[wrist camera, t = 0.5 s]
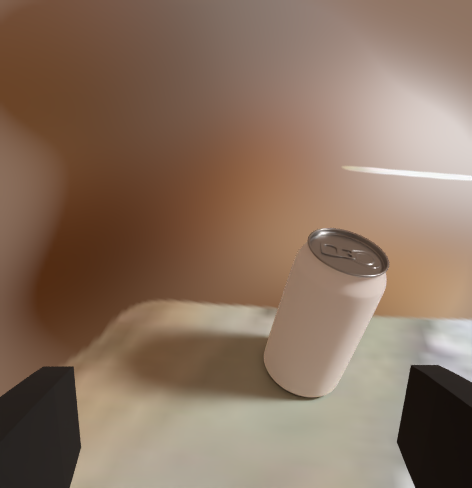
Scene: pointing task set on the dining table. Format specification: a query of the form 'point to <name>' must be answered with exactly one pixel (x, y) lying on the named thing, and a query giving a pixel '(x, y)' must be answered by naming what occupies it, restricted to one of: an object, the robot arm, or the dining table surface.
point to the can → (324, 310)
